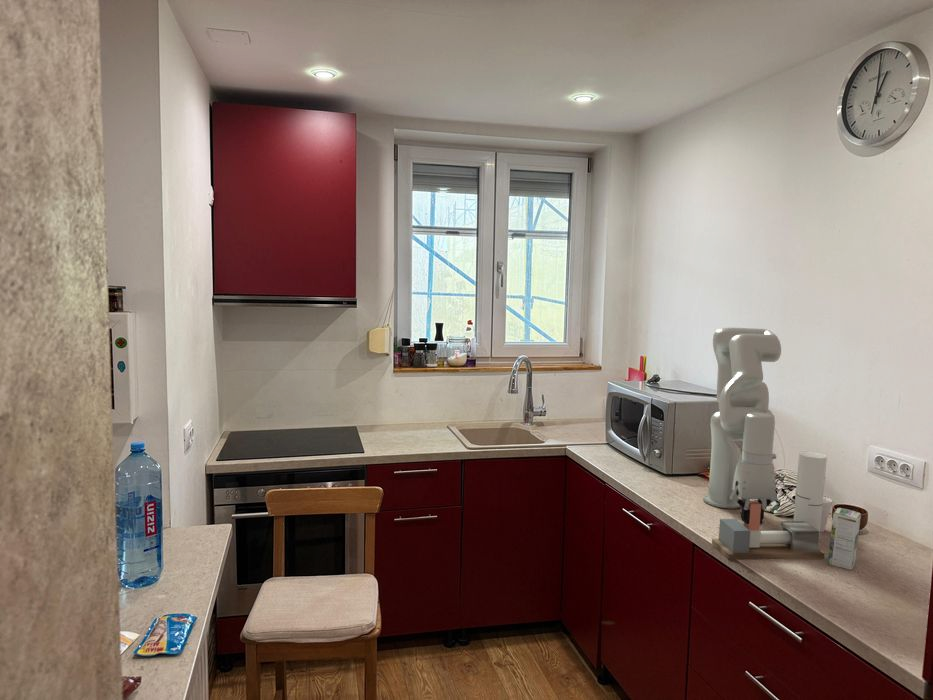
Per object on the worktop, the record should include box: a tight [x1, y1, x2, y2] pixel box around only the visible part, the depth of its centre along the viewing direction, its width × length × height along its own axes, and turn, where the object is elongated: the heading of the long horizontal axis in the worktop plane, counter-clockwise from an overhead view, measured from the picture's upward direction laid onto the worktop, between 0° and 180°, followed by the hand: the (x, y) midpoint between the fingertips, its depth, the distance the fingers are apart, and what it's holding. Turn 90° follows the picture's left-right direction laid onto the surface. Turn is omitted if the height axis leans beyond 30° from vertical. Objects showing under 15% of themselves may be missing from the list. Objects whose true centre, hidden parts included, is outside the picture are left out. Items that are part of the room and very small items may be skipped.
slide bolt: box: [743, 499, 792, 547], centre depth 175 cm, size 5×16×12 cm, turn 93°
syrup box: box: [827, 507, 862, 571], centre depth 168 cm, size 6×6×14 cm
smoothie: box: [820, 496, 833, 533], centre depth 191 cm, size 6×6×14 cm
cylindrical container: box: [792, 450, 828, 538], centre depth 185 cm, size 7×7×25 cm
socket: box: [718, 518, 750, 553], centre depth 175 cm, size 8×4×6 cm, turn 3°
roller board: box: [711, 520, 825, 561], centre depth 175 cm, size 10×27×7 cm, turn 93°
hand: (751, 521), depth 174 cm, fingers closed on slide bolt, 3 cm apart
